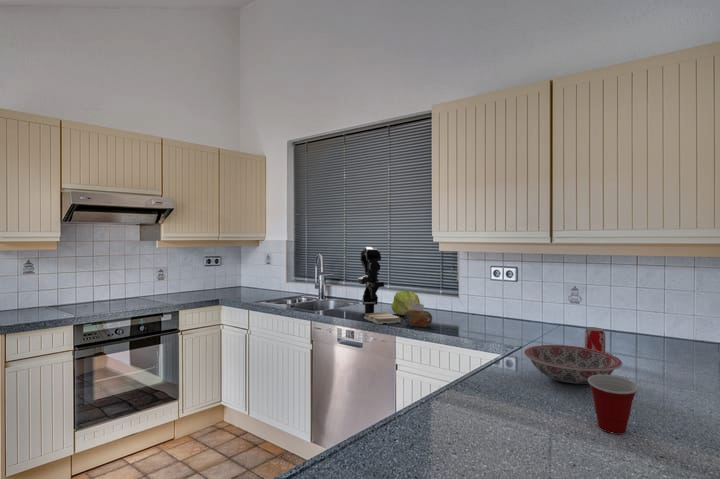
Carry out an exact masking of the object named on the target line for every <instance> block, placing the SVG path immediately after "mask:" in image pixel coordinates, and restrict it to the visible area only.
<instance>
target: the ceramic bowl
mask: <svg viewBox="0 0 720 479" xmlns="http://www.w3.org/2000/svg"><path fill="white" fill-rule="evenodd" d="M523 354H524V356H525V357H526V358H527V359H529V360H530V361H531V363H532V364H533V366H534V367H535V368H536V369H537V370H538V371H539V372H540V373H541V374H543V375H544V376H546V377H548V378H550V379H552V380H556V381H559V382H563V383H568V384H575V385H576V384H577V385H585V384H586V385H590V384H589V382H588V378H589V377H591V376H593V375H599V374H601V375H612V373H613V372H614V371H615V370H617V369H619V368H621V367H622V365H623V362H622V360H621V359H620V358H619V357H617V356H615V355H613V354H611V353H607V352H606V351H605V352H602V351H598V350H593V349H588V348H585V347H581V346H574V345H563V344H562V345H561V344H558V345H557V344H542V345H534V346H530V347H528V348H526V349H525V350H524V351H523Z"/></svg>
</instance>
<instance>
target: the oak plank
mask: <svg viewBox="0 0 720 479" xmlns="http://www.w3.org/2000/svg"><path fill="white" fill-rule="evenodd" d="M368 318H370V319H373V320H375V321H377V322H385V321H396V320H401V317H400V316H397V315H394V314H391V313H389V312H386V314H374V315H368Z"/></svg>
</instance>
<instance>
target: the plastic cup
mask: <svg viewBox="0 0 720 479" xmlns="http://www.w3.org/2000/svg"><path fill="white" fill-rule="evenodd" d="M588 382H589V384H588V385H590V389H591V393H592V399H593V403H594V404H593V405H594V410H595V414H596V420H597V425H598V428H599V427H600V428H601V429H603V430H606V431H609V432H613V433H624V432H625V433H626V431H627V427H628V424H629V423H628V422H629V419H630V415H631V410H632V406H633V401H634V397H635V395H636V392H638V391H639V385H638V384H637V383H636V382H634V381H632V380H630V379H628V378H625V377H622V376H618V375H612V374H610V375H601V374H599V375H593V376H591V377H589V378H588ZM600 428H599V429H600ZM601 429H600V430H601ZM603 430H602V431H603ZM625 433H624V434H625Z"/></svg>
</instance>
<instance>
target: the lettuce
mask: <svg viewBox="0 0 720 479" xmlns="http://www.w3.org/2000/svg"><path fill="white" fill-rule="evenodd" d="M412 304H421V301H420V299H419V295H417V293H415V292H413V291H410V290H400V291H397V292H396V293H395V295H394V298H393V302H392V303H391V306H390V307H391V309H392V312H393V313H395V314H396V315H398V316H404V315H405V313H406V312H407V311H409V310H412Z"/></svg>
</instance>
